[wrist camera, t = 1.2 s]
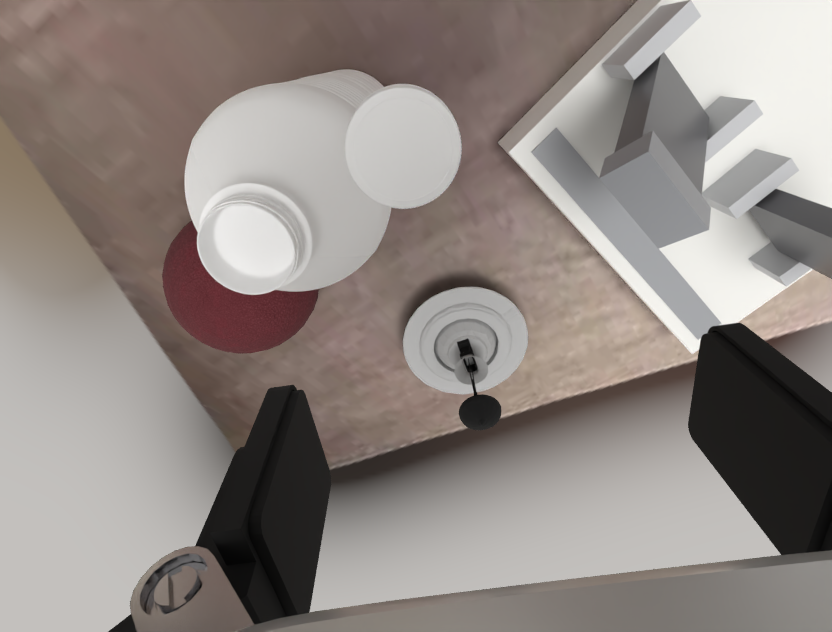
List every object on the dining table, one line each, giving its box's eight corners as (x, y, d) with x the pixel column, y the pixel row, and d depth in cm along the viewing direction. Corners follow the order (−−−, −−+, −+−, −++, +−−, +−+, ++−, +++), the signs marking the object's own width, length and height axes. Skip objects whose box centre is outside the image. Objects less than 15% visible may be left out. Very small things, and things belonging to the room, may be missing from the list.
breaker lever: (758, 174, 31) (924, 228, 21) (794, 226, 32) (962, 299, 23) (724, 201, 32) (869, 265, 22) (761, 250, 33) (909, 331, 24)
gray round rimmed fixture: (576, 458, 32) (543, 335, 27) (432, 497, 33) (378, 386, 28) (532, 356, 42) (504, 255, 38) (425, 388, 44) (385, 295, 39)
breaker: (673, 34, 26) (648, 151, 20) (719, 103, 28) (709, 230, 22) (632, 63, 28) (598, 178, 22) (678, 126, 30) (658, 248, 24)
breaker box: (729, -94, 28) (826, -138, 22) (878, 173, 35) (982, 198, 29) (497, 142, 34) (519, 162, 27) (667, 328, 41) (715, 377, 35)
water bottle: (339, 188, 35) (232, 409, 13) (283, 105, 32) (26, 207, 10) (443, 120, 33) (524, 247, 11) (392, 26, 30) (364, -55, 8)
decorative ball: (296, 170, 34) (259, 209, 26) (347, 290, 39) (331, 359, 30) (171, 213, 36) (95, 264, 27) (235, 324, 40) (189, 400, 31)
